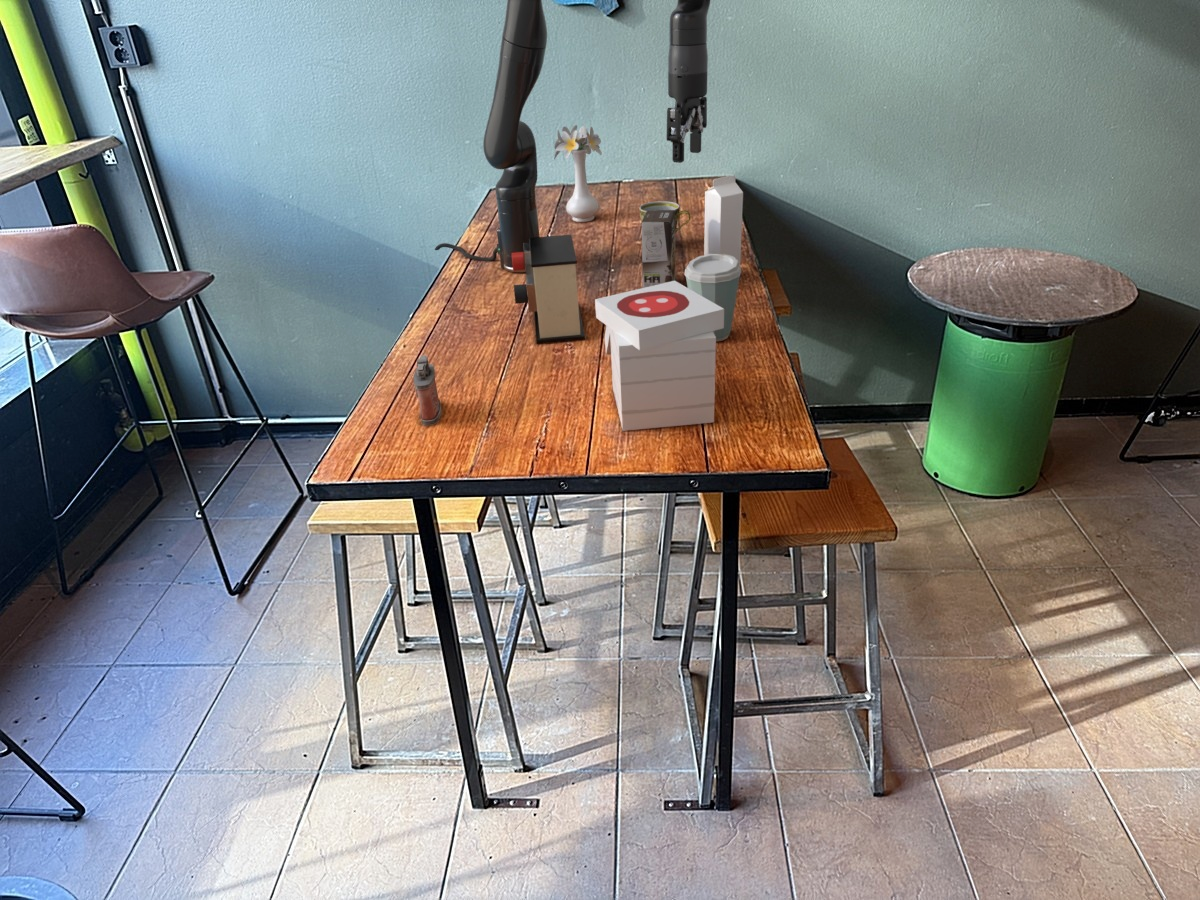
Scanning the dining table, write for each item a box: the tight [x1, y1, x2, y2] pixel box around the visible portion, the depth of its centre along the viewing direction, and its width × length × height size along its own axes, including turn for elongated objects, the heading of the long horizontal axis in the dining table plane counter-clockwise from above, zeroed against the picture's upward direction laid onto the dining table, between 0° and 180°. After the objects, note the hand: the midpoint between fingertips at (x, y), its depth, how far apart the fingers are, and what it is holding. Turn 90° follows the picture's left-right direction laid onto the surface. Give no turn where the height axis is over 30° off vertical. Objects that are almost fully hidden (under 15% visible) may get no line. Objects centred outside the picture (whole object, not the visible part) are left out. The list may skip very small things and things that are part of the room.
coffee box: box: [641, 210, 676, 288], centre depth 181 cm, size 9×6×16 cm
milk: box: [703, 174, 744, 266], centre depth 184 cm, size 6×6×22 cm
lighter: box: [412, 354, 442, 426], centre depth 138 cm, size 8×3×10 cm, turn 5°
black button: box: [513, 283, 528, 305], centre depth 161 cm, size 2×4×4 cm, turn 6°
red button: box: [512, 252, 525, 271], centre depth 167 cm, size 2×4×4 cm, turn 6°
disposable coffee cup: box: [683, 254, 743, 343], centre depth 158 cm, size 11×11×15 cm
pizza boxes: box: [594, 280, 724, 432], centre depth 139 cm, size 19×30×18 cm, turn 5°
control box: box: [523, 234, 586, 345], centre depth 166 cm, size 10×18×16 cm, turn 6°
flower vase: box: [553, 124, 603, 223], centre depth 227 cm, size 13×18×25 cm
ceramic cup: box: [639, 200, 692, 235], centre depth 206 cm, size 13×10×10 cm
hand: (687, 157), depth 166 cm, fingers open, 8 cm apart
